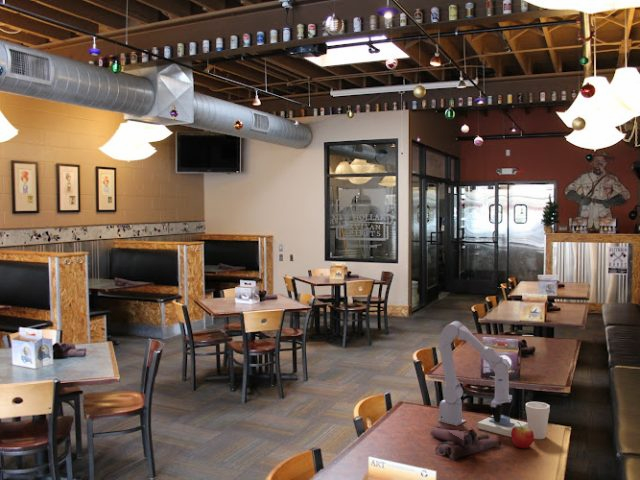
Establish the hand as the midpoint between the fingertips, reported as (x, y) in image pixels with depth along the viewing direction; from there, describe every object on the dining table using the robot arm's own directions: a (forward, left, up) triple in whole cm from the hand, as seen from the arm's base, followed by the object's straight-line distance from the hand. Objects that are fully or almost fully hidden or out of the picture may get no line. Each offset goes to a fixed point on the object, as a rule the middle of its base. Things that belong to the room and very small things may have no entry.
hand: (501, 419), depth 269 cm
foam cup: (+15, +2, -4) cm, 16 cm away
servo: (0, 0, -4) cm, 4 cm away
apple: (+16, -13, -4) cm, 21 cm away
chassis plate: (0, +1, -4) cm, 4 cm away
